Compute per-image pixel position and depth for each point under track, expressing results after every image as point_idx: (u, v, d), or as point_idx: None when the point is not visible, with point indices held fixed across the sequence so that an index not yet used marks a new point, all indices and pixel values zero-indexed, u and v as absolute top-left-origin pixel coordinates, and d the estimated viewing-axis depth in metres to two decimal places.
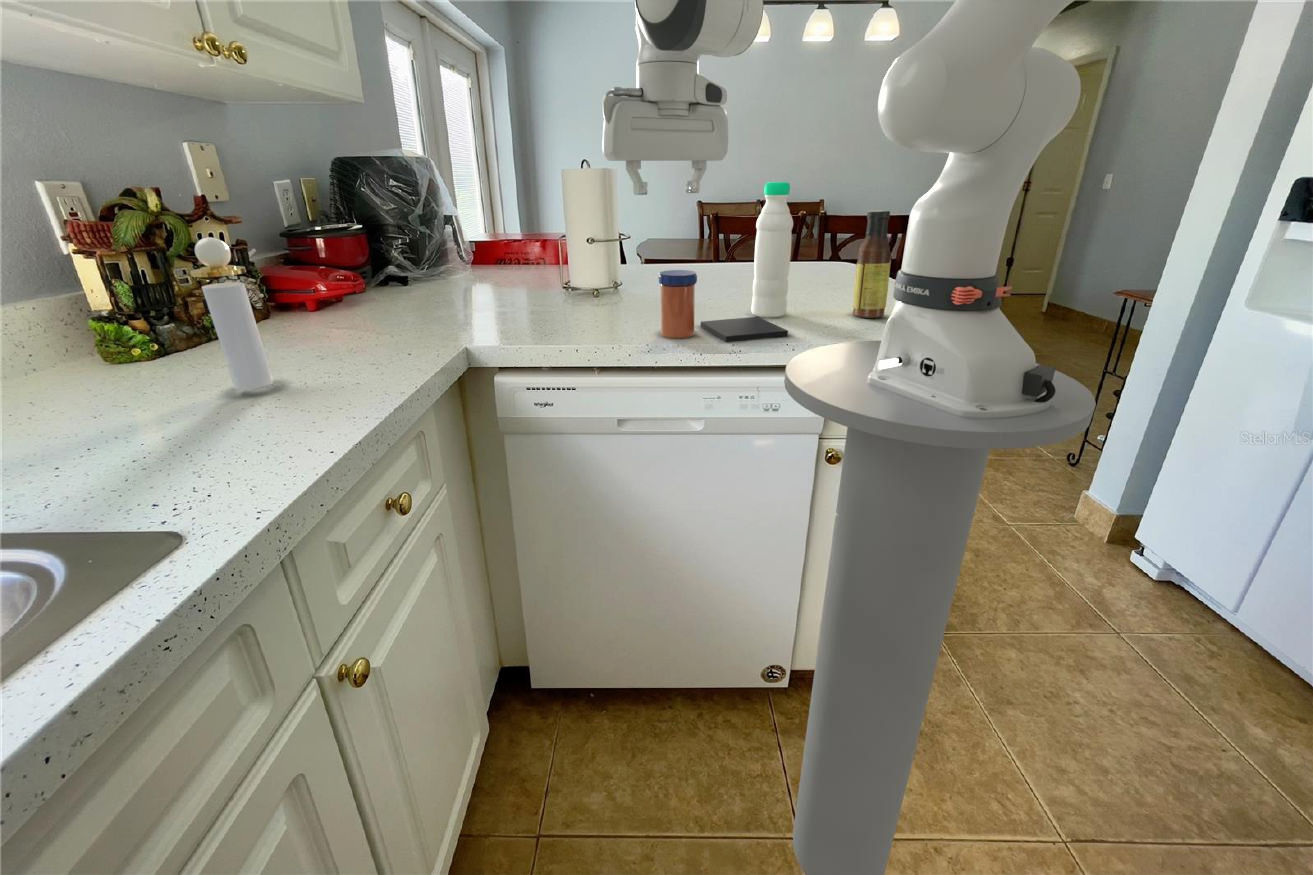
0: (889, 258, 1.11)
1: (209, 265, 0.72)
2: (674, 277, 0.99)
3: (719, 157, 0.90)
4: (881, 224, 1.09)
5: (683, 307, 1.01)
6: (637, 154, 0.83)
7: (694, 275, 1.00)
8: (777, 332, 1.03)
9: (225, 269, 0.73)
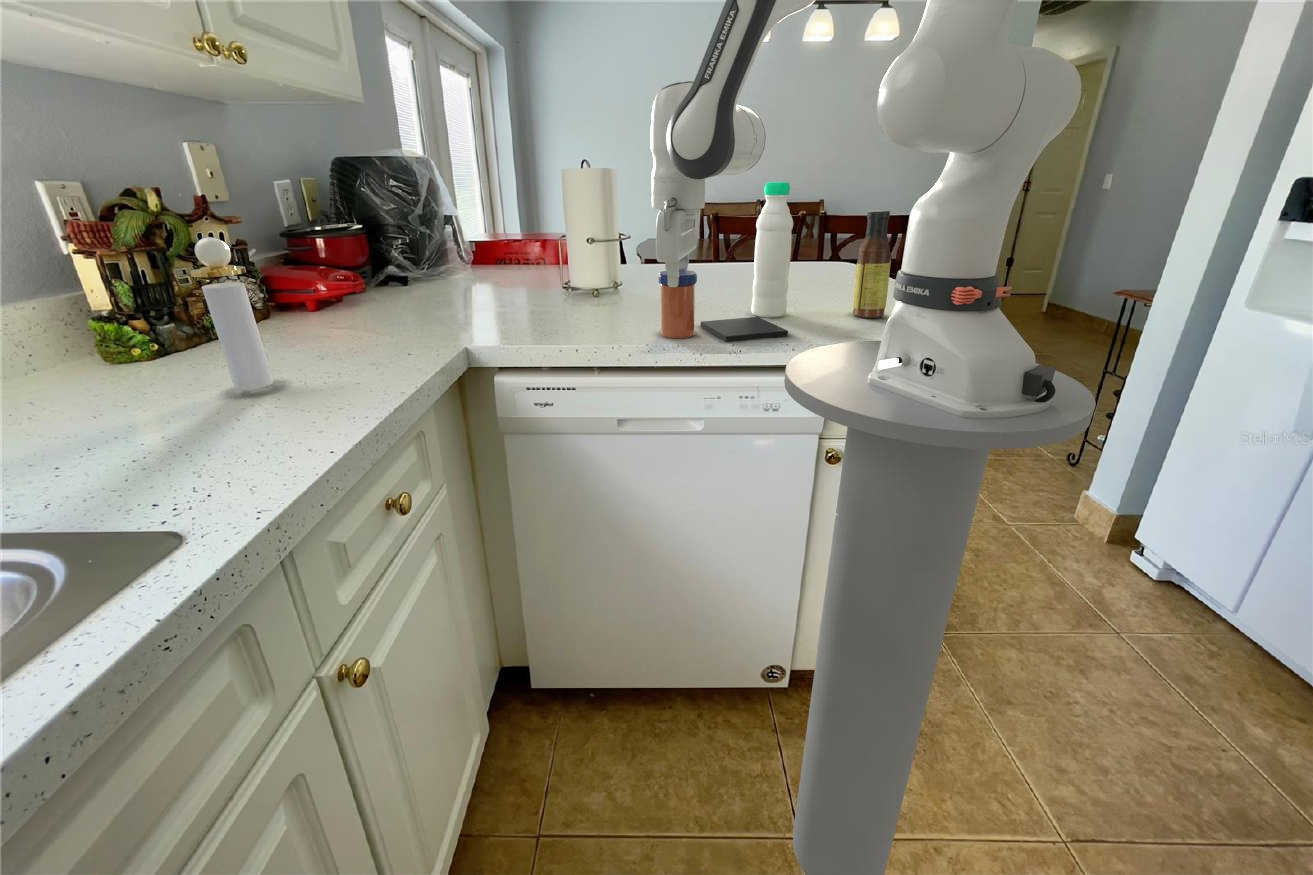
0: (889, 258, 1.11)
1: (209, 265, 0.72)
2: None
3: (695, 247, 1.07)
4: (881, 224, 1.09)
5: (683, 307, 1.01)
6: (682, 254, 0.94)
7: (694, 275, 1.00)
8: (777, 332, 1.03)
9: (225, 269, 0.73)
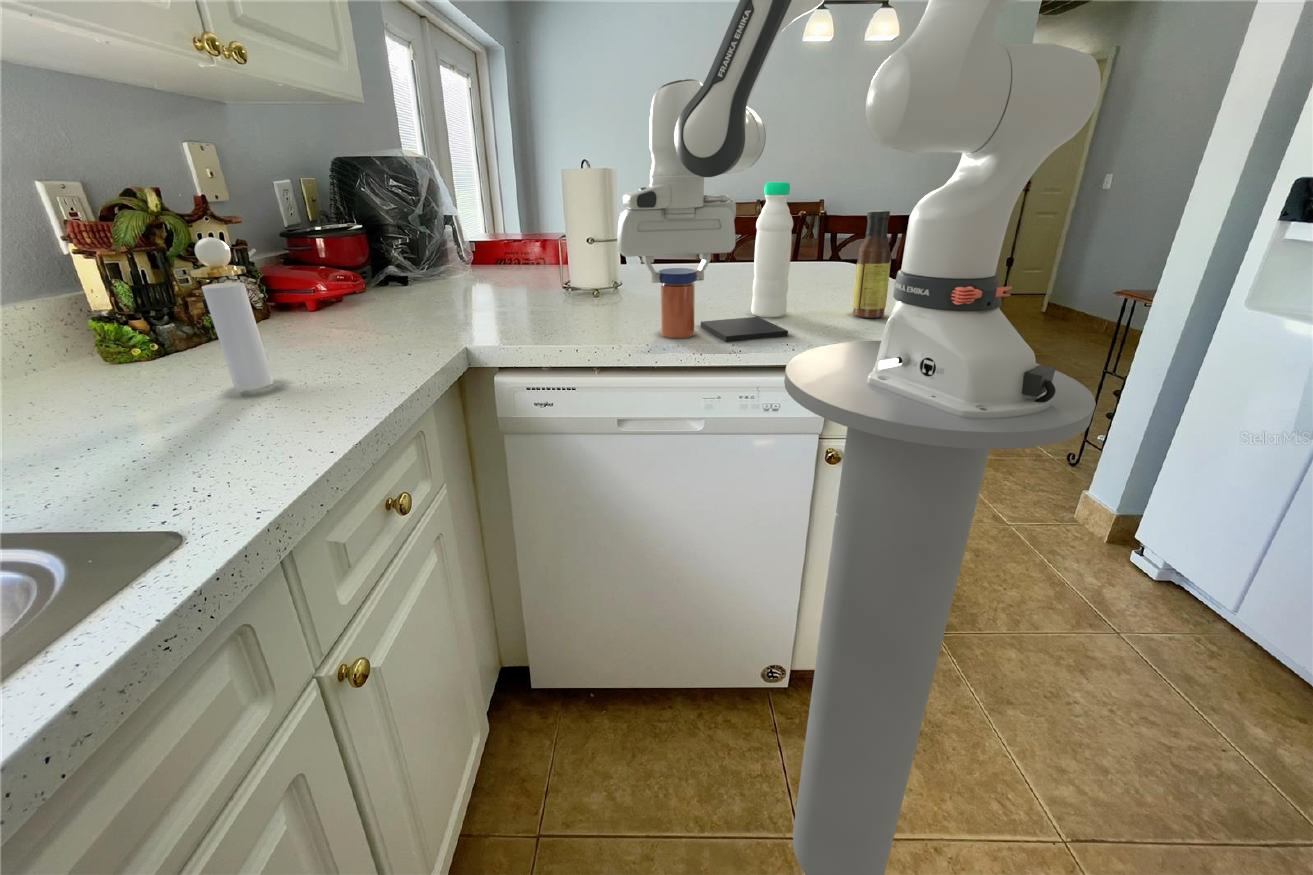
0: (889, 258, 1.11)
1: (209, 265, 0.72)
2: None
3: None
4: (881, 224, 1.09)
5: (683, 307, 1.01)
6: None
7: (678, 269, 1.04)
8: (777, 332, 1.03)
9: (225, 269, 0.73)
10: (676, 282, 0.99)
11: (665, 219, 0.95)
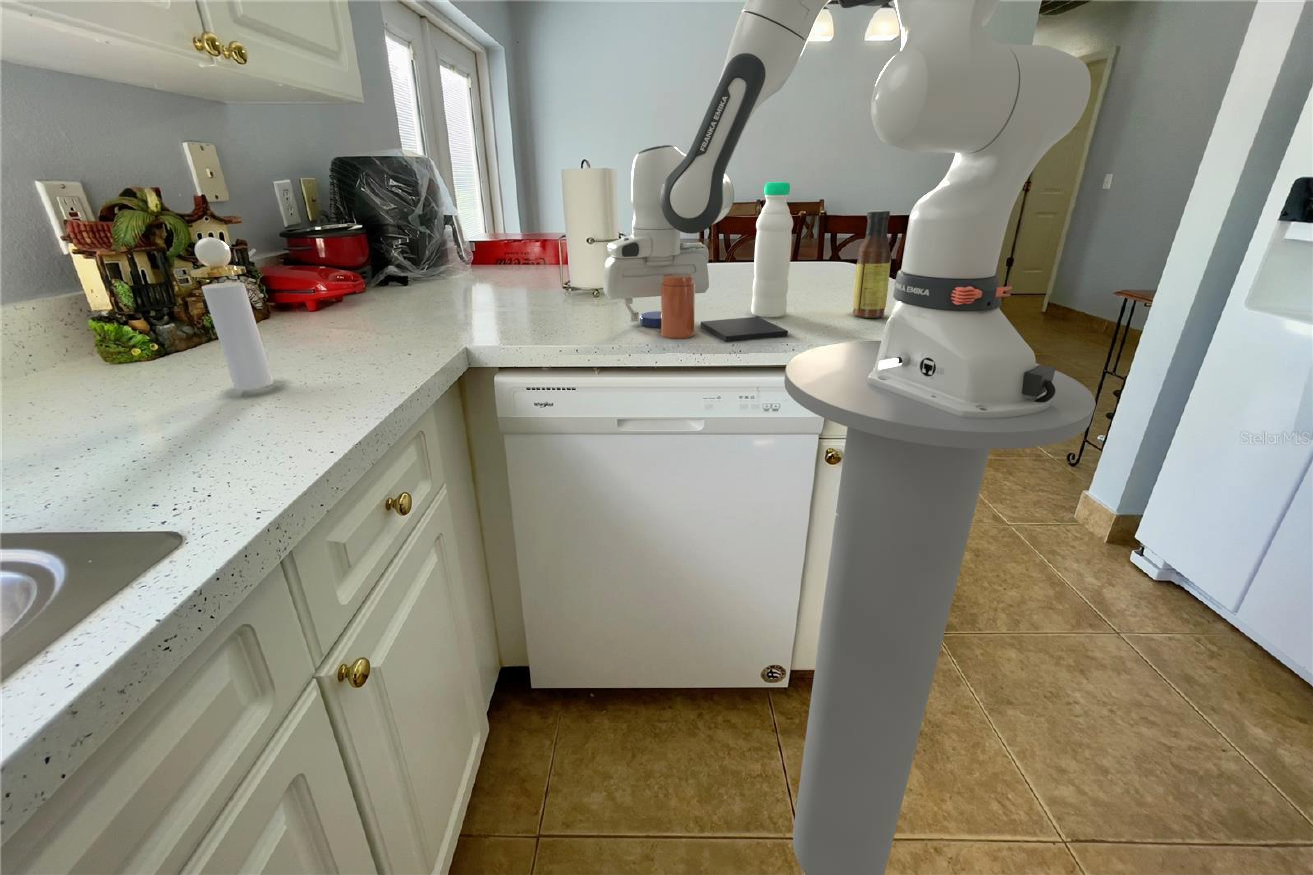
0: (889, 258, 1.11)
1: (209, 265, 0.72)
2: None
3: None
4: (881, 224, 1.09)
5: (683, 307, 1.01)
6: None
7: None
8: (777, 332, 1.03)
9: (225, 269, 0.73)
10: (657, 325, 1.11)
11: (646, 266, 1.06)
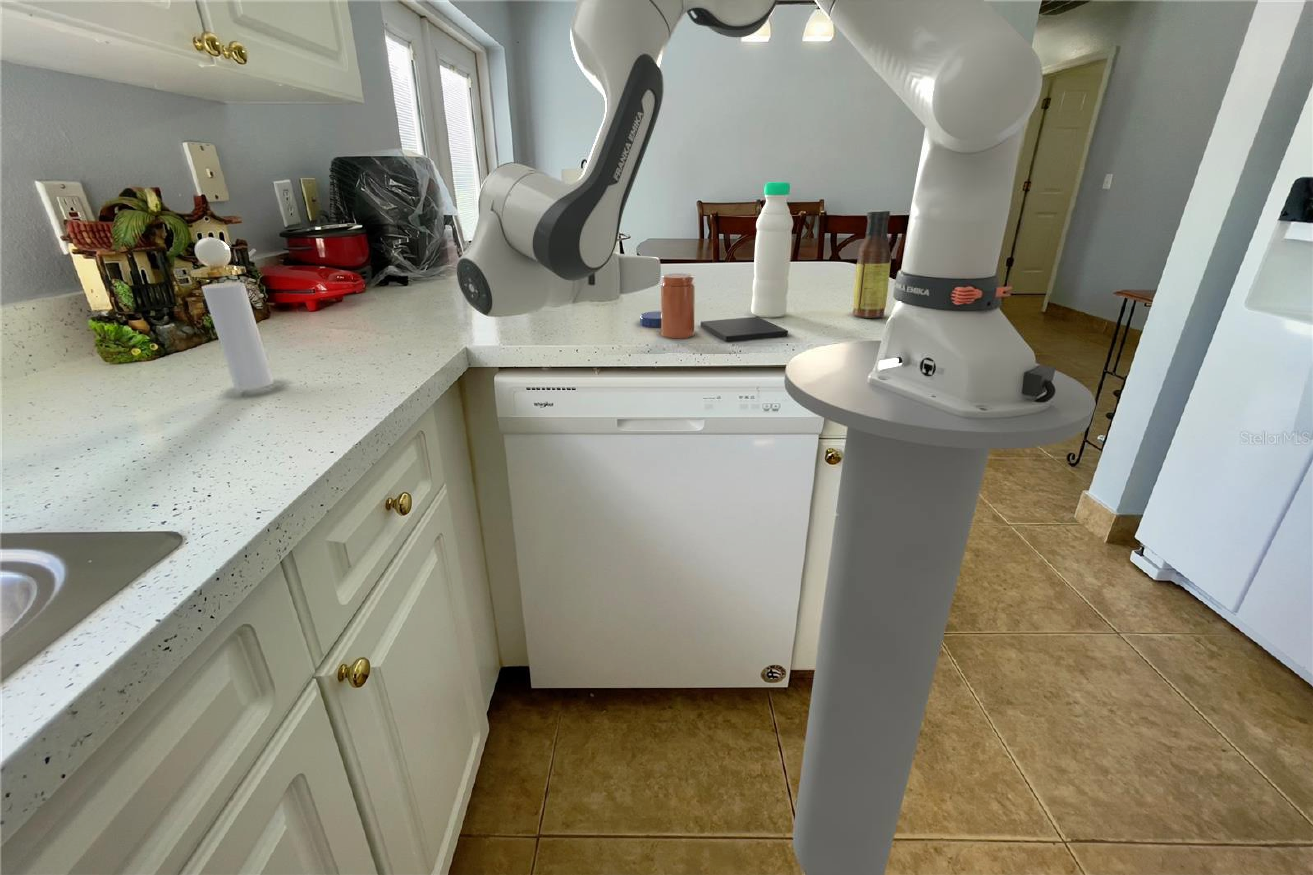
0: (889, 258, 1.11)
1: (209, 265, 0.72)
2: None
3: None
4: (881, 224, 1.09)
5: (683, 307, 1.01)
6: None
7: None
8: (777, 332, 1.03)
9: (225, 269, 0.73)
10: (657, 325, 1.11)
11: None
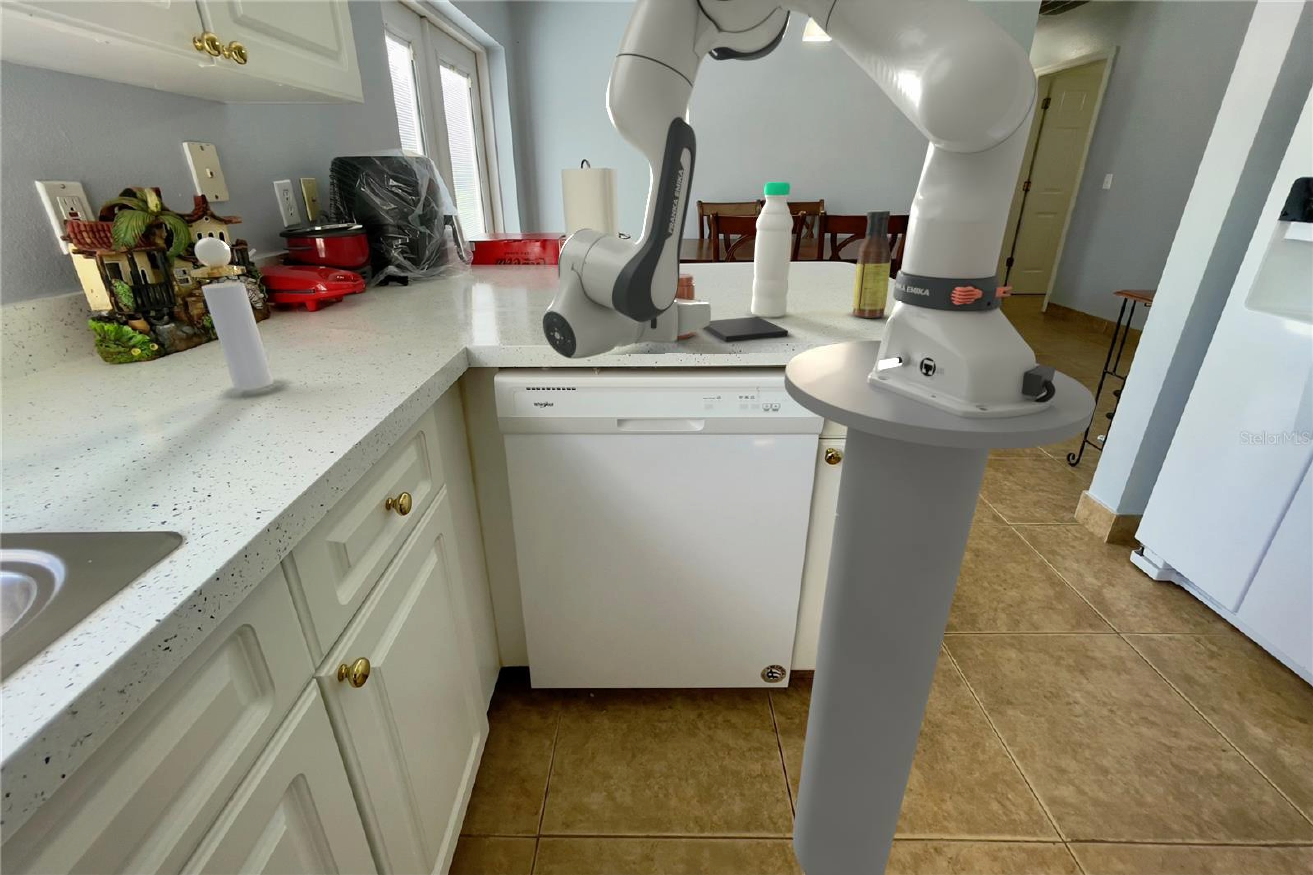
0: (889, 258, 1.11)
1: (209, 265, 0.72)
2: None
3: None
4: (881, 224, 1.09)
5: None
6: None
7: None
8: (777, 332, 1.03)
9: (225, 269, 0.73)
10: None
11: None
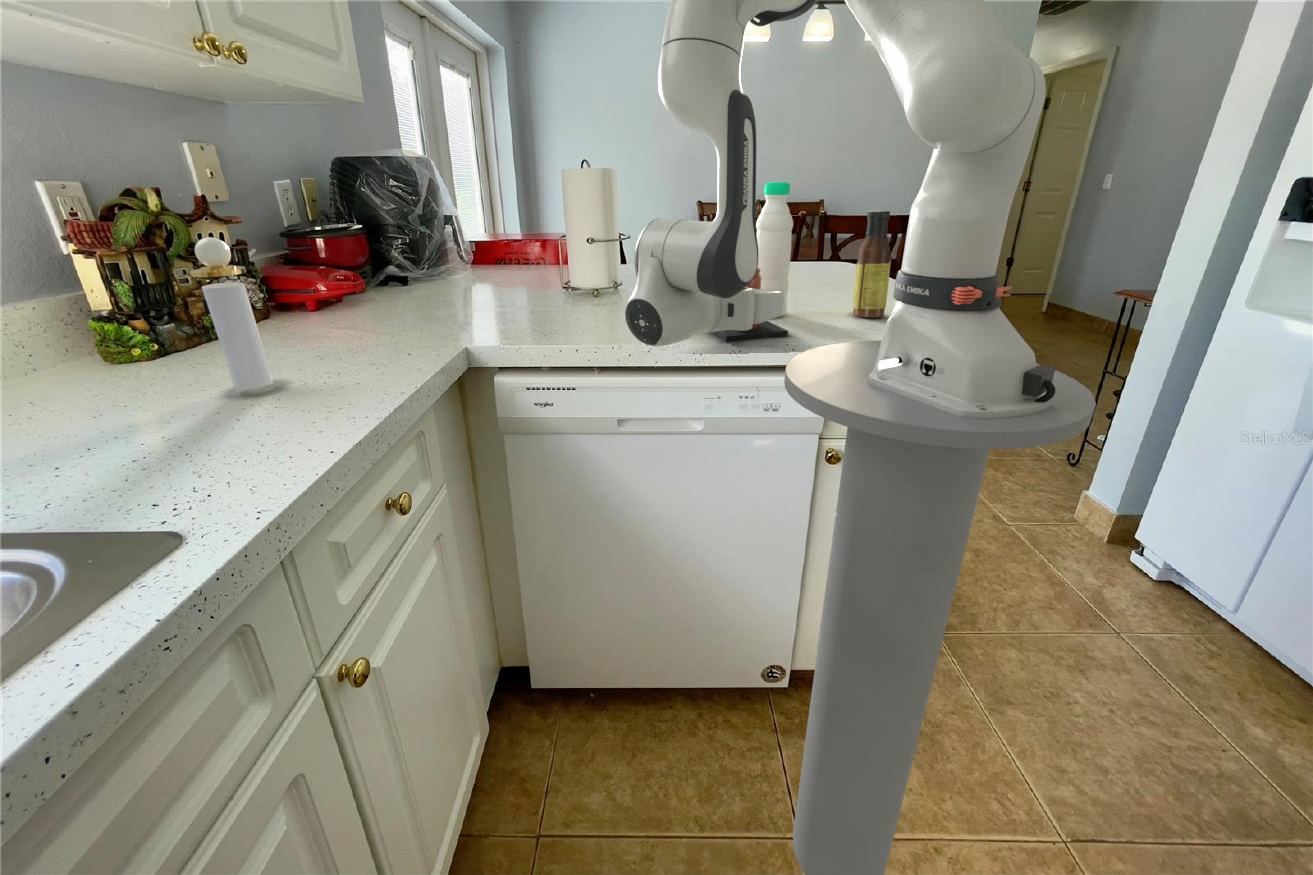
0: (889, 258, 1.11)
1: (209, 265, 0.72)
2: None
3: None
4: (881, 224, 1.09)
5: None
6: None
7: None
8: (777, 332, 1.03)
9: (225, 269, 0.73)
10: None
11: None
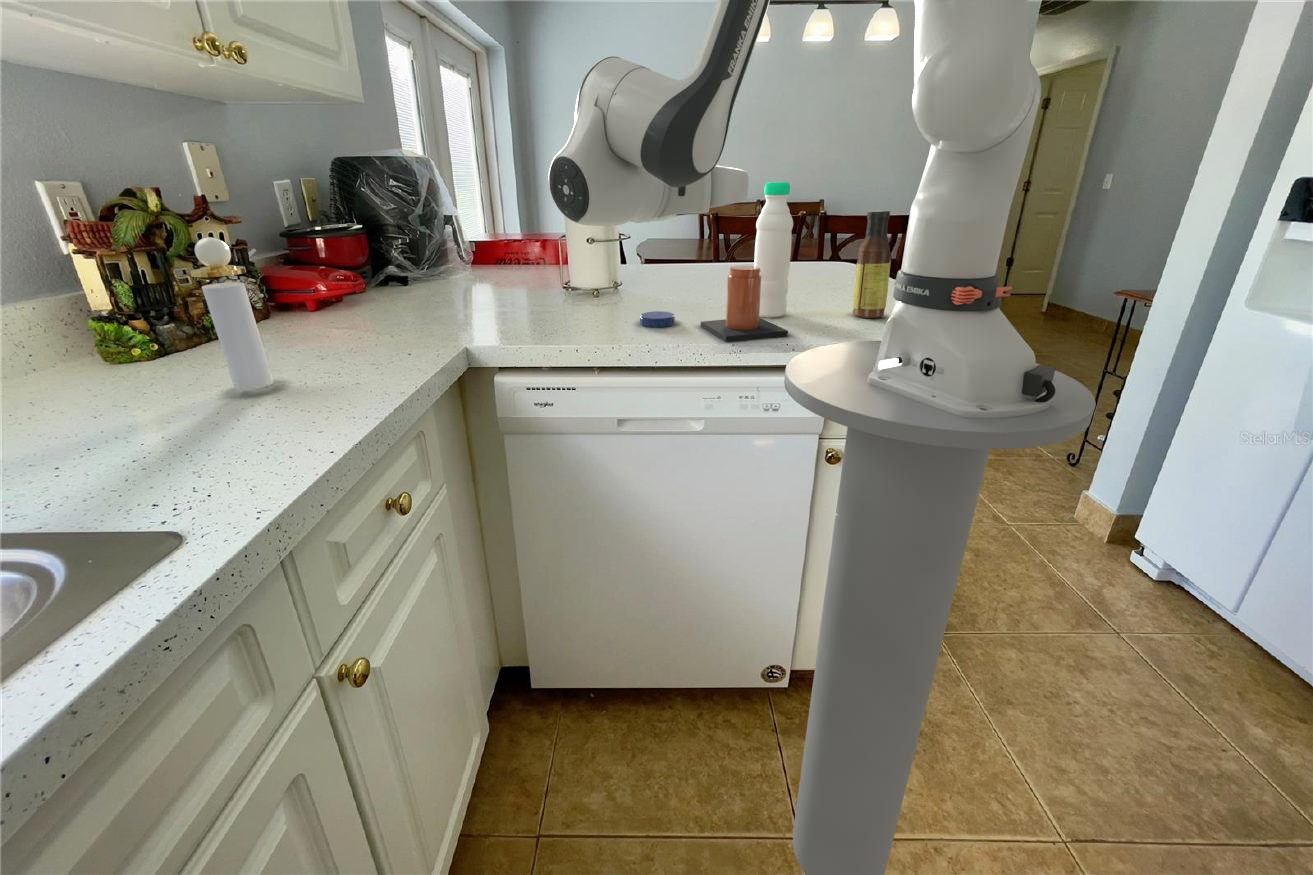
0: (889, 258, 1.11)
1: (209, 265, 0.72)
2: None
3: None
4: (881, 224, 1.09)
5: (750, 299, 1.02)
6: None
7: None
8: (777, 332, 1.03)
9: (225, 269, 0.73)
10: (657, 325, 1.11)
11: None
